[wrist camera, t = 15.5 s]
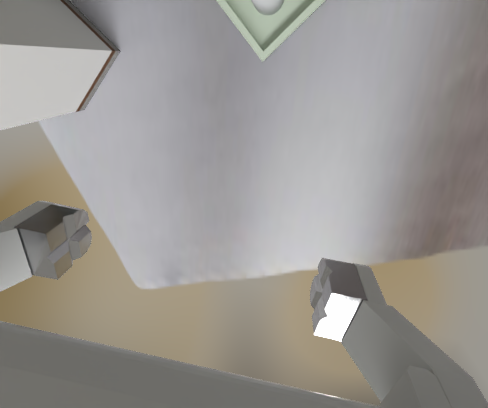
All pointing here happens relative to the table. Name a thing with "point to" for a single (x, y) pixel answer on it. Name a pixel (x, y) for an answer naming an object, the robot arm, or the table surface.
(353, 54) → the table surface
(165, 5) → the table surface
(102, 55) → the notched white block
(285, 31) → the tray
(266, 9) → the gray bottle
